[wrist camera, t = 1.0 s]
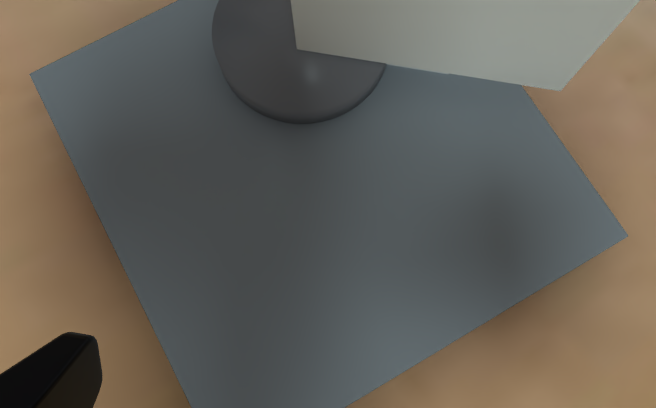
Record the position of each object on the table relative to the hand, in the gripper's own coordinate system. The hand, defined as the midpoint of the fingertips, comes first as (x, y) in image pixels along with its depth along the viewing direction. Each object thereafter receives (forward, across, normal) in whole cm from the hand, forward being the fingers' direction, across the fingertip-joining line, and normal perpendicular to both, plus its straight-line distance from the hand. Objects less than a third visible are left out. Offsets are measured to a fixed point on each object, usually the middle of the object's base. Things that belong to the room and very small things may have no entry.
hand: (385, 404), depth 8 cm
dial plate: (+15, +3, +4) cm, 16 cm away
